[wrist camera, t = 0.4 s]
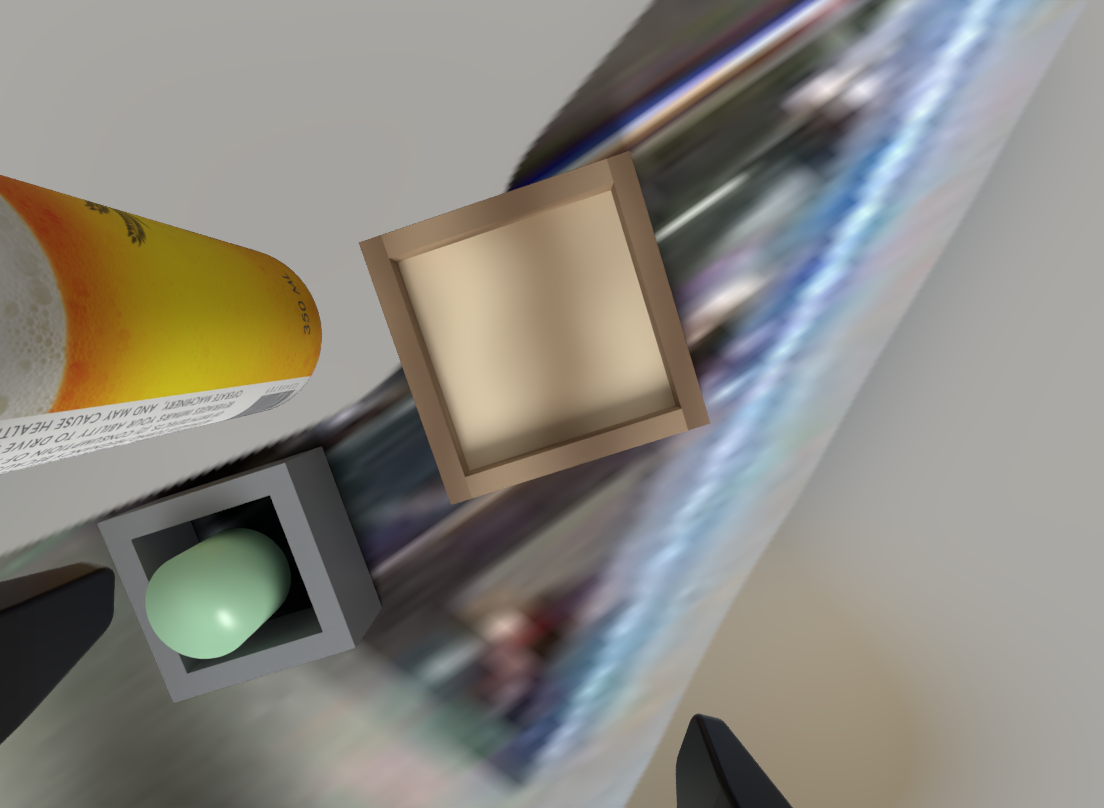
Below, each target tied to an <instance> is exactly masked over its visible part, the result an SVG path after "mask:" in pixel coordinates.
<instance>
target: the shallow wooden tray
mask: <svg viewBox="0 0 1104 808" xmlns="http://www.w3.org/2000/svg"><path fill="white" fill-rule="evenodd" d="M359 245H360V247H361V250H362V253H363V256H364V259H365V261H366V265H367V267H368V270H369V273H370V276H371V278H372V282H373V284H374V287H375V290H376V293H377V296H378V299H379V301H380V304H381V307H382V310H383V313H384V315H385V318H386V321H387V324H388V327H389V330H390V333H391V336H392V338H393V341H394V344H395V347H396V350H397V353H398V355H399V358H400V361H401V364H402V367H403V370H404V372H405V375H406V378H407V381H408V384H409V387H410V390H411V392H412V395H413V398H414V401H415V404H416V407H417V409H418V412H419V415H420V418H421V421H422V424H423V426H424V429H425V432H426V435H427V438H428V441H429V443H430V446H431V449H432V452H433V455H434V458H435V461H436V463H437V466H438V469H439V472H440V475H441V478H442V480H443V483H444V486H445V489H446V492H447V495H448V497H449V500H450V503H451V505H452V504H455V503H458V502H462V501H465V500H468V499H471V498H474V497H478V496H481V495H484V494H487V493H490V492H493V491H497V490H500V489H503V488H506V487H509V486H513V485H516V484H519V483H522V482H525V481H528V480H532V479H535V478H538V477H541V476H544V475H548V474H551V473H554V472H557V471H560V470H563V469H567V468H570V467H573V466H576V465H579V464H582V463H586V462H589V461H592V460H595V459H598V458H602V457H605V456H608V455H611V454H614V453H617V452H621V451H624V450H627V449H630V448H633V447H637V446H640V445H643V444H646V443H649V442H652V441H656V440H659V439H662V438H665V437H668V436H672V435H675V434H678V433H681V432H684V431H687V430H691V429H694V428H697V427H700V426H703V425H706V424H710V421H709V418H708V414H707V411H706V407H705V404H704V401H703V397H702V394H701V391H700V387H699V384H698V380H697V377H696V374H695V370H694V367H693V364H692V360H691V357H690V353H689V350H688V347H687V343H686V340H685V336H684V333H683V330H682V326H681V323H680V320H679V316H678V313H677V309H676V306H675V303H674V299H673V296H672V293H671V289H670V286H669V282H668V279H667V276H666V272H665V269H664V265H663V262H662V259H661V255H660V252H659V249H658V245H657V242H656V238H655V235H654V232H653V228H652V225H651V222H650V218H649V215H648V211H647V208H646V205H645V201H644V198H643V195H642V191H641V188H640V184H639V181H638V178H637V174H636V171H635V167H634V164H633V161H632V157H631V154H630V151H627V152H624V153H621V154H618V155H615V156H612V157H610V158H607V159H604V160H601V161H598V162H595V163H592V164H589V165H586V166H583V167H580V168H577V169H574V170H571V171H568V172H565V173H562V174H559V175H557V176H554V177H551V178H548V179H545V180H542V181H539V182H536V183H533V184H530V185H527V186H524V187H521V188H518V189H515V190H512V191H509V192H506V193H504V194H501V195H498V196H495V197H492V198H489V199H486V200H483V201H480V202H477V203H474V204H471V205H468V206H465V207H462V208H460V209H456V210H454V211H451V212H448V213H445V214H442V215H439V216H436V217H433V218H430V219H427V220H424V221H421V222H418V223H415V224H412V225H409V226H406V227H403V228H401V229H398V230H395V231H392V232H389V233H386V234H383V235H380V236H377V237H374V238H371V239H368V240H365V241H362V242H359Z"/></svg>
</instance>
